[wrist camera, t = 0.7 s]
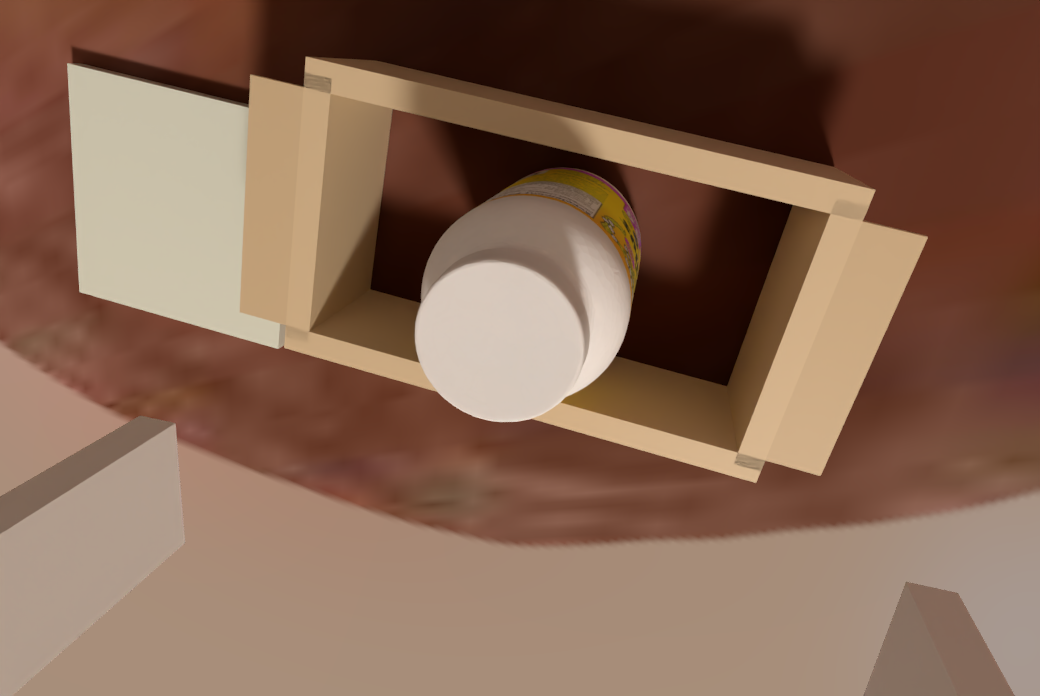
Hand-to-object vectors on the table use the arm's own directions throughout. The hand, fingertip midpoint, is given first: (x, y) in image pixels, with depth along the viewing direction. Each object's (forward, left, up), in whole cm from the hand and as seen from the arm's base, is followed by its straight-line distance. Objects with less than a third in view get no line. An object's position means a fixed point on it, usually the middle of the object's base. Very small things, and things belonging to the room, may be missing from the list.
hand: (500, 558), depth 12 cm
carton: (-1, -2, -20) cm, 20 cm away
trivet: (+2, -20, -20) cm, 28 cm away
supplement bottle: (-1, -2, -20) cm, 20 cm away
